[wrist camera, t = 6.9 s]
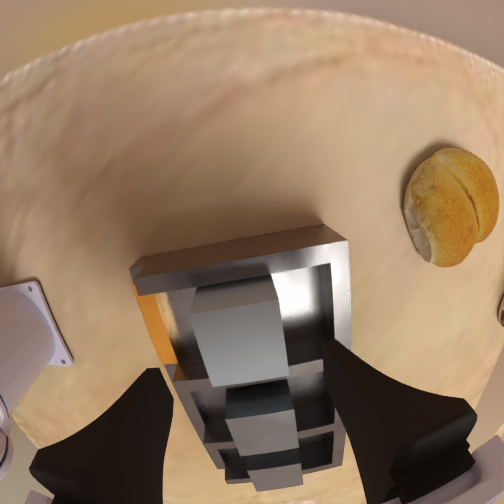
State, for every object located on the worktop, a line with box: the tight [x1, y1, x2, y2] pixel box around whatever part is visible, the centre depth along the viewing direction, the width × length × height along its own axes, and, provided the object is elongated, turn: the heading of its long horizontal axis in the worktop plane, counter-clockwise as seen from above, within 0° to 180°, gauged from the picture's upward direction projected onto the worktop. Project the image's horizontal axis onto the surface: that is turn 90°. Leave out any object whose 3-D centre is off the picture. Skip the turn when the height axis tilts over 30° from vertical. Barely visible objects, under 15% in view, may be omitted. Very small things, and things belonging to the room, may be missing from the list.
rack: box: [129, 224, 351, 491], centre depth 18 cm, size 12×22×6 cm, turn 10°
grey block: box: [189, 274, 289, 387], centre depth 15 cm, size 4×4×5 cm
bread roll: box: [404, 147, 499, 267], centre depth 16 cm, size 8×9×4 cm
